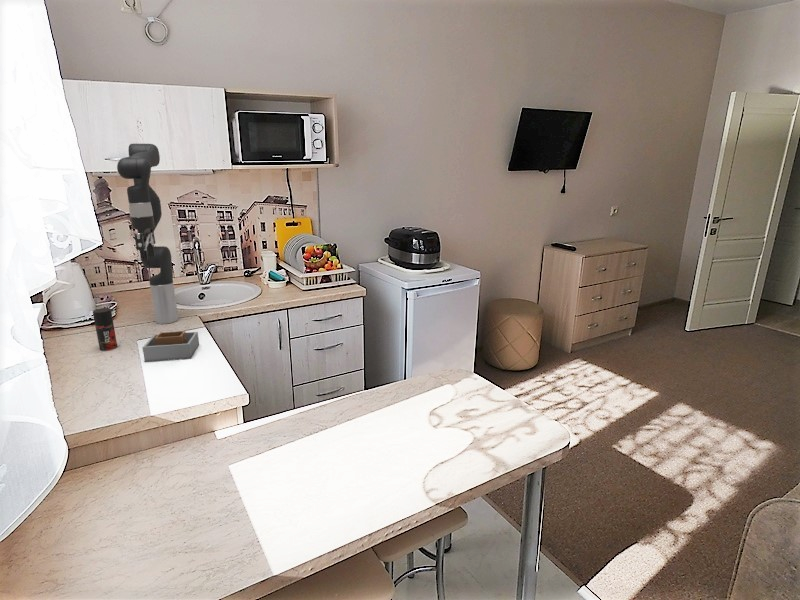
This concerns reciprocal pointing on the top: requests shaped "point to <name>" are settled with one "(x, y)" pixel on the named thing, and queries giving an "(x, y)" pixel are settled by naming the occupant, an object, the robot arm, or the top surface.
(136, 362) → the top surface
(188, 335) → the crate large
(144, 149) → the robot arm
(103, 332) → the deodorant
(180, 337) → the crate small
